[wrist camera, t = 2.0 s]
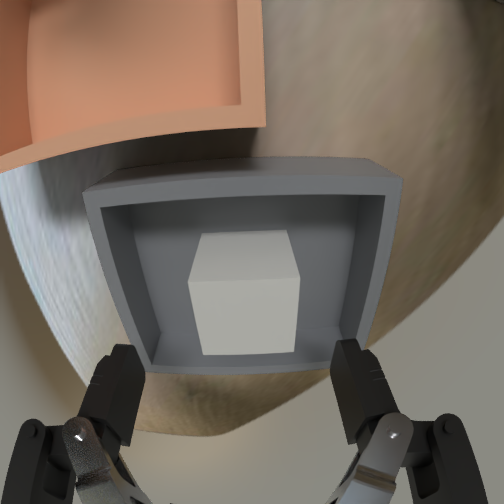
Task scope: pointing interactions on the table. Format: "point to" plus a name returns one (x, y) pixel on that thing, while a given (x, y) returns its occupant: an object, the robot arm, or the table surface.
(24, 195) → the table surface
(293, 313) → the off-white cube block
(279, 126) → the table surface
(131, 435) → the robot arm
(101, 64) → the terracotta tray
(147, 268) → the charcoal bin
